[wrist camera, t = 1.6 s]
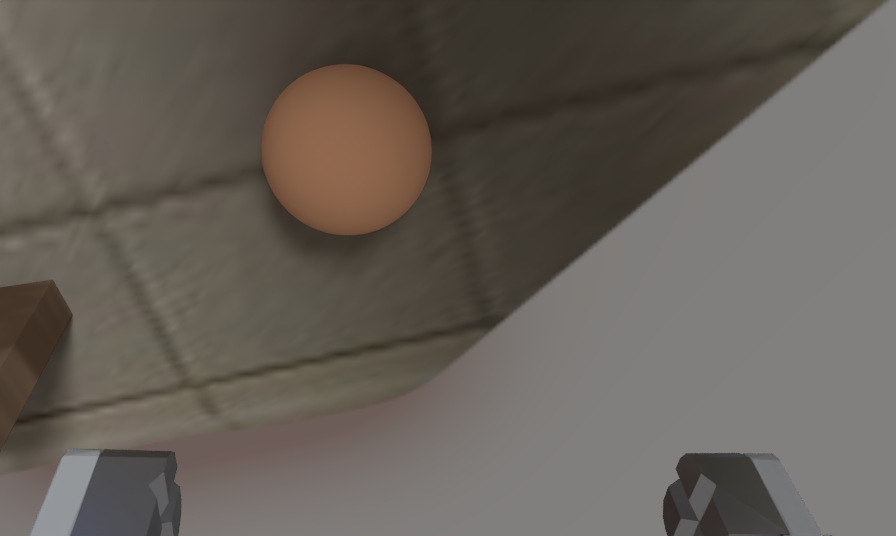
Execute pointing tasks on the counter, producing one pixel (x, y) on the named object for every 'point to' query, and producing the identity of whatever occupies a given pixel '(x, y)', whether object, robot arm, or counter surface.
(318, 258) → the counter surface
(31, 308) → the bridge
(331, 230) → the ball
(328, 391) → the counter surface
